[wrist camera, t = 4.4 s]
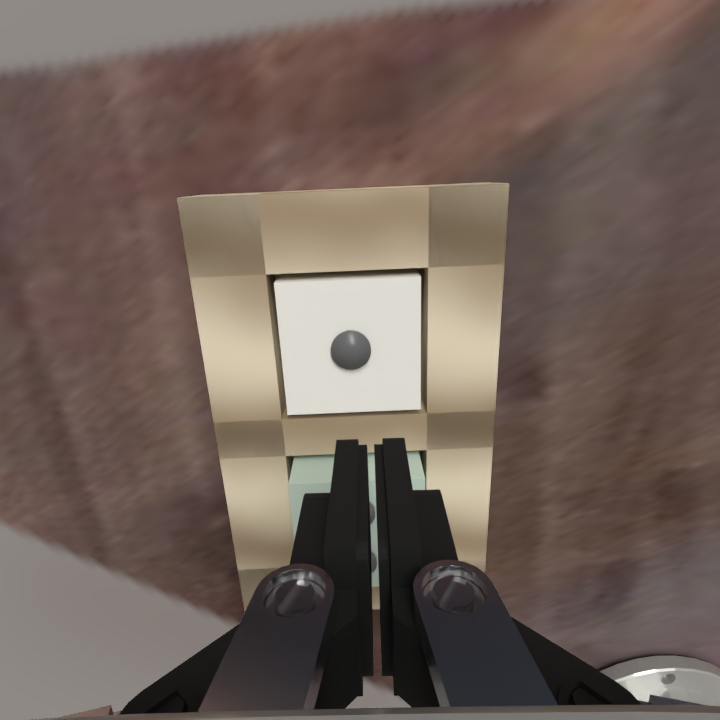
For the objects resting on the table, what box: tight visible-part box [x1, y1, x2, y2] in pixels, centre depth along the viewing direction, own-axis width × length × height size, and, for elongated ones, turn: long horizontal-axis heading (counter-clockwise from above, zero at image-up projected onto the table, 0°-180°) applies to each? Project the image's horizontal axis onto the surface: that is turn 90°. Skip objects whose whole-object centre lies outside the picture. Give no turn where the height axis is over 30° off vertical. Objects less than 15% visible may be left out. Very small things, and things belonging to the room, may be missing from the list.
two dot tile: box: [288, 450, 425, 587], centre depth 22 cm, size 6×6×2 cm
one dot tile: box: [274, 268, 421, 415], centre depth 20 cm, size 6×6×2 cm
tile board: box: [177, 183, 509, 611], centre depth 23 cm, size 20×12×3 cm, turn 2°
